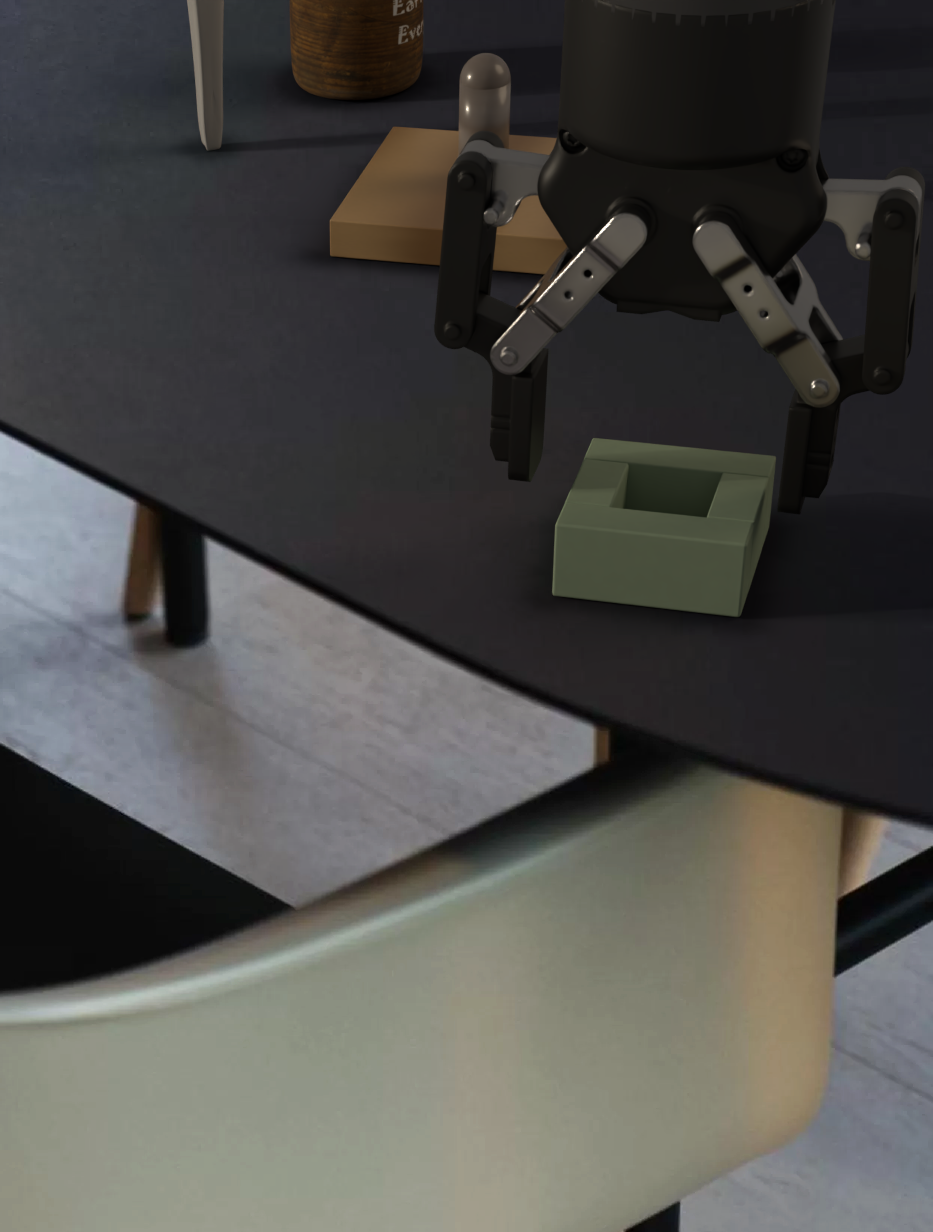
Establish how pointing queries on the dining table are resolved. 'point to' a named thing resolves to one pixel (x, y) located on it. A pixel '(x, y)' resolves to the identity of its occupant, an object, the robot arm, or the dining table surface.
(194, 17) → the pen
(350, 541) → the dining table surface
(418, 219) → the base pad
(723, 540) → the green square ring block
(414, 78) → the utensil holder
